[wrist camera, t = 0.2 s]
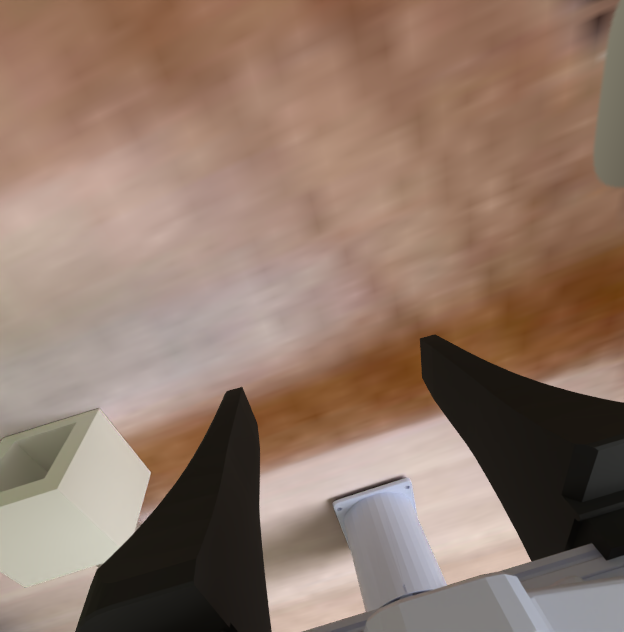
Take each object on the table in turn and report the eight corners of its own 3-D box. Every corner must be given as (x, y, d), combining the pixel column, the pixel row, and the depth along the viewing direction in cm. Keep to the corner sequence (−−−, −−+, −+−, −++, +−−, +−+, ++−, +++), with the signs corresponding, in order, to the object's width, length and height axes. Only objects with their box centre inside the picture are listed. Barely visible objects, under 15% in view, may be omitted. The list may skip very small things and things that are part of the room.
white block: (153, 475, 28) (131, 558, 23) (71, 501, 28) (29, 590, 23) (99, 408, 24) (56, 488, 19) (3, 437, 24) (-68, 528, 19)
